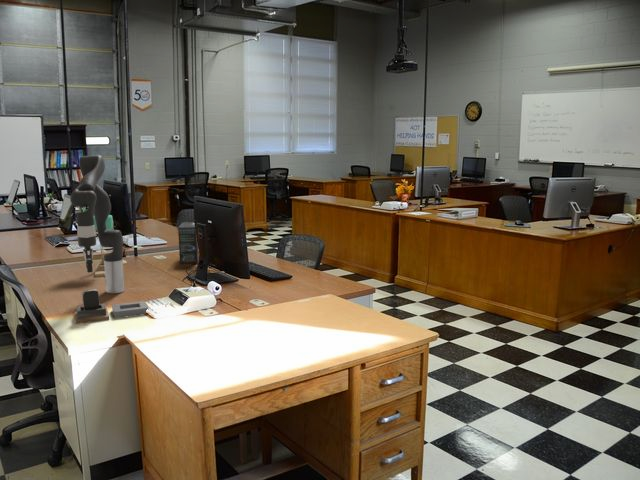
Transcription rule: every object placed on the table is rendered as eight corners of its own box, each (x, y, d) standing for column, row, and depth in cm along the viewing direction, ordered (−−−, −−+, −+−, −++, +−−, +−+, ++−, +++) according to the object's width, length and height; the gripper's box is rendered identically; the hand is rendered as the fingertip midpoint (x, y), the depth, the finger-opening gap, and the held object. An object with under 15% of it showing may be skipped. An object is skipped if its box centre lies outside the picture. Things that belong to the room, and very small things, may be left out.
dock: (112, 310, 269) (112, 304, 269) (145, 306, 276) (144, 300, 275) (114, 318, 259) (114, 311, 258) (148, 313, 265) (148, 307, 264)
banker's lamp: (117, 268, 354) (113, 212, 348) (116, 275, 335) (112, 217, 329) (90, 269, 350) (85, 213, 343) (87, 278, 330) (83, 218, 324)
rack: (74, 314, 264) (74, 305, 263) (106, 310, 269) (106, 301, 268) (75, 323, 251) (75, 314, 250) (109, 319, 257) (108, 310, 256)
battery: (98, 311, 264) (97, 287, 262) (100, 313, 260) (98, 289, 258) (82, 313, 260) (80, 289, 258) (84, 316, 257) (82, 291, 255)
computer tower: (183, 256, 388) (181, 219, 383) (201, 256, 390) (199, 219, 385) (179, 263, 366) (177, 224, 361) (197, 263, 368) (196, 224, 363)
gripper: (77, 233, 259) (79, 267, 262) (78, 238, 246) (81, 274, 249) (94, 231, 262) (97, 265, 265) (96, 237, 249) (99, 272, 252)
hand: (89, 270), depth 257 cm, fingers open, 8 cm apart
